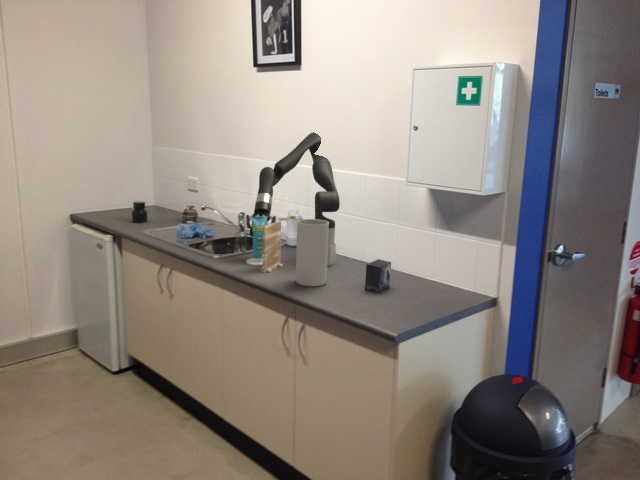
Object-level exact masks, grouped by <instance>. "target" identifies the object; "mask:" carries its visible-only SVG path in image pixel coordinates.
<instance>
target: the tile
mask: <svg viewBox="0 0 640 480" xmlns="http://www.w3.org/2000/svg"><path fill="white" fill-rule="evenodd" d="M246 264H247V265H249V266H254V267H255V266H256V267H262V259H254V258H253V257H252V258H249V259H246Z"/></svg>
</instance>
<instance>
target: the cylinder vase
mask: <svg viewBox="0 0 640 480" xmlns="http://www.w3.org/2000/svg"><path fill="white" fill-rule="evenodd" d="M328 229H329V222H328V221H325V220H318V219H315V218H312V219H311V218H309V219H308V218H305V219H303V218H302V219H299V220H297V222H296V247H295V249H296V250H295V251H296V256H295V257H296V258H295V282H296V284H298V285H300V286H303V287H320V286H321V287H322V286H324V285H325V284H326V283H327V280H328V279H327V276H328V274H327V273H328V266H327V255H328Z"/></svg>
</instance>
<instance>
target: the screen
mask: <svg viewBox="0 0 640 480" xmlns="http://www.w3.org/2000/svg"><path fill="white" fill-rule="evenodd" d="M281 242H282V221H279V220H278V221H276V222H275V223H272V224H271V223H268V225H265V226H263V245H262V266H261V267H260V268H259V272H262V273H264V274H265V273H269V274H270V273H272V272H273V271H272V270H273V269H276V268H283V267H284V264H283V263H281V254H282V253H281V251H282V249H281V246H282V245H281V244H282V243H281Z"/></svg>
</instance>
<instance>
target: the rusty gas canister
mask: <svg viewBox="0 0 640 480" xmlns="http://www.w3.org/2000/svg"><path fill="white" fill-rule="evenodd" d="M198 216H199V213H198V211H197V209H196V207H195V206H194V205H187V206H186V205H185V208H184V209H183V211H182V214H181V218H182V221H183V223H184V224H187V223H186V222H187V221H193V222H196V223H197V222H198Z"/></svg>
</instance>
